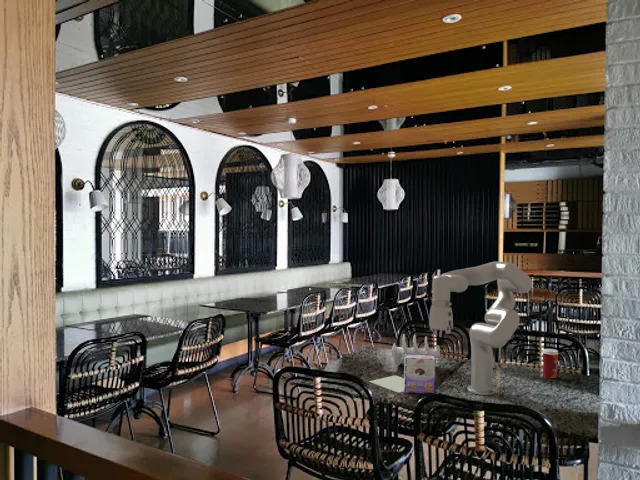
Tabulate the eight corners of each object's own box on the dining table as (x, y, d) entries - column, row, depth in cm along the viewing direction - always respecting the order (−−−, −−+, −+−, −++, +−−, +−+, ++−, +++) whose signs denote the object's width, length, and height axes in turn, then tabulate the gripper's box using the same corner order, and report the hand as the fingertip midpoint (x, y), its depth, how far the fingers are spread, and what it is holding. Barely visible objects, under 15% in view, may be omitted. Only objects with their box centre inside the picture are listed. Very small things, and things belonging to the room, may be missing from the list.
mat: (425, 386, 234) (425, 385, 234) (398, 393, 223) (398, 392, 223) (395, 375, 250) (395, 375, 250) (369, 381, 239) (369, 381, 239)
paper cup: (559, 380, 246) (559, 352, 246) (542, 378, 248) (543, 351, 248) (557, 376, 253) (557, 349, 253) (540, 374, 256) (541, 347, 256)
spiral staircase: (395, 370, 275) (441, 373, 266) (388, 363, 260) (436, 366, 251) (397, 337, 282) (442, 339, 273) (391, 329, 268) (437, 331, 259)
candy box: (433, 390, 228) (434, 355, 227) (434, 394, 222) (436, 358, 221) (403, 388, 229) (404, 353, 229) (404, 392, 223) (405, 357, 223)
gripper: (460, 305, 211) (459, 347, 212) (433, 300, 223) (432, 341, 224) (449, 306, 207) (448, 349, 207) (422, 302, 219) (421, 342, 219)
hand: (439, 345), depth 215 cm, fingers closed
